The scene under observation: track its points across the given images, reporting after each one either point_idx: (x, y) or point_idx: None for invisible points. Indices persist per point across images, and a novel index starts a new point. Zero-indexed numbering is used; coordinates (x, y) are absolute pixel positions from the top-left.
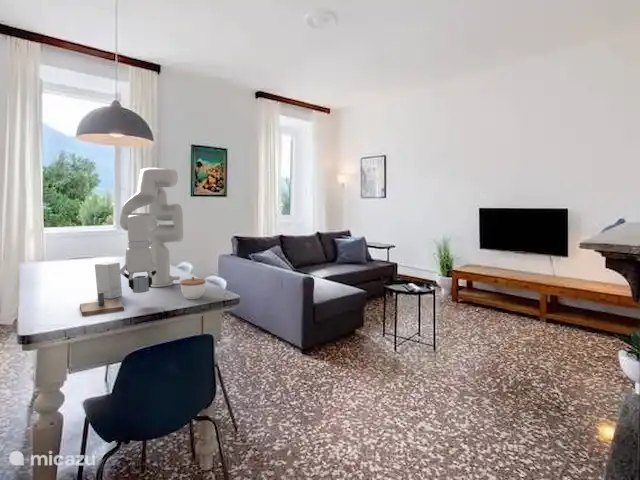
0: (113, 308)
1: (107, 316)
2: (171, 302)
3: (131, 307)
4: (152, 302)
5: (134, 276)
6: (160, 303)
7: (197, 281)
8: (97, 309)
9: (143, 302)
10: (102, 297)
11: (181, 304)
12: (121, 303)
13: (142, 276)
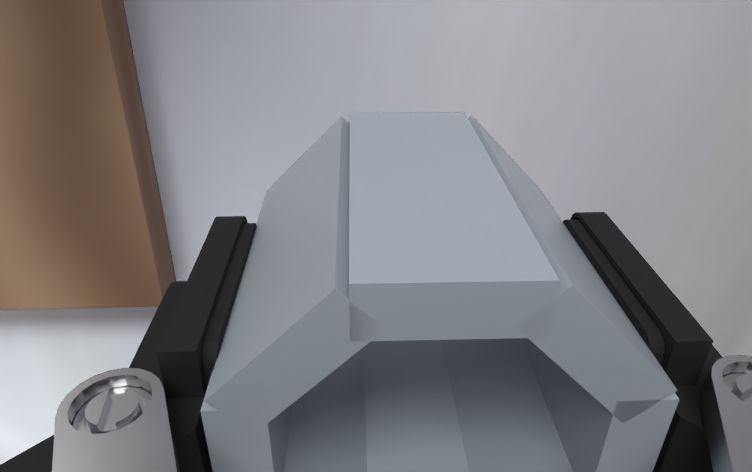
0: (54, 304)
1: (36, 408)
2: (704, 229)
3: (260, 210)
4: (535, 103)
5: (291, 344)
6: (591, 208)
7: None
8: None
9: (438, 30)
10: None
11: (728, 354)
12: (130, 148)
13: (540, 336)
